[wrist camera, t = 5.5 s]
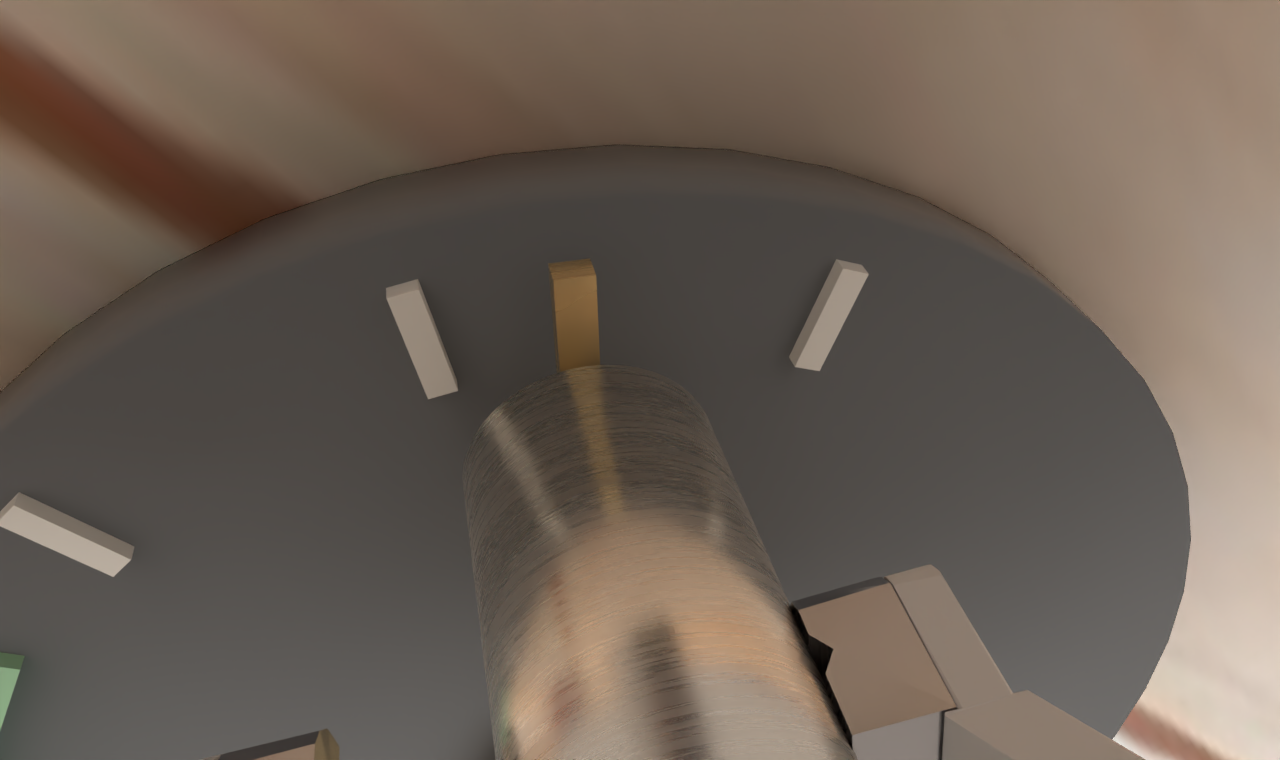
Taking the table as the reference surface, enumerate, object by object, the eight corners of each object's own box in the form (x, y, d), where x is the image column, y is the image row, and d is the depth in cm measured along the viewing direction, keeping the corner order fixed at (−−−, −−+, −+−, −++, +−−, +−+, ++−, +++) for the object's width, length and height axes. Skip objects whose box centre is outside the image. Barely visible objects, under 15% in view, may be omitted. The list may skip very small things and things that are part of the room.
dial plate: (1288, 608, 24) (1344, 667, 23) (561, 1063, 30) (571, 1132, 29) (644, -303, 11) (687, -293, 9) (-428, 849, 17) (-497, 958, 16)
